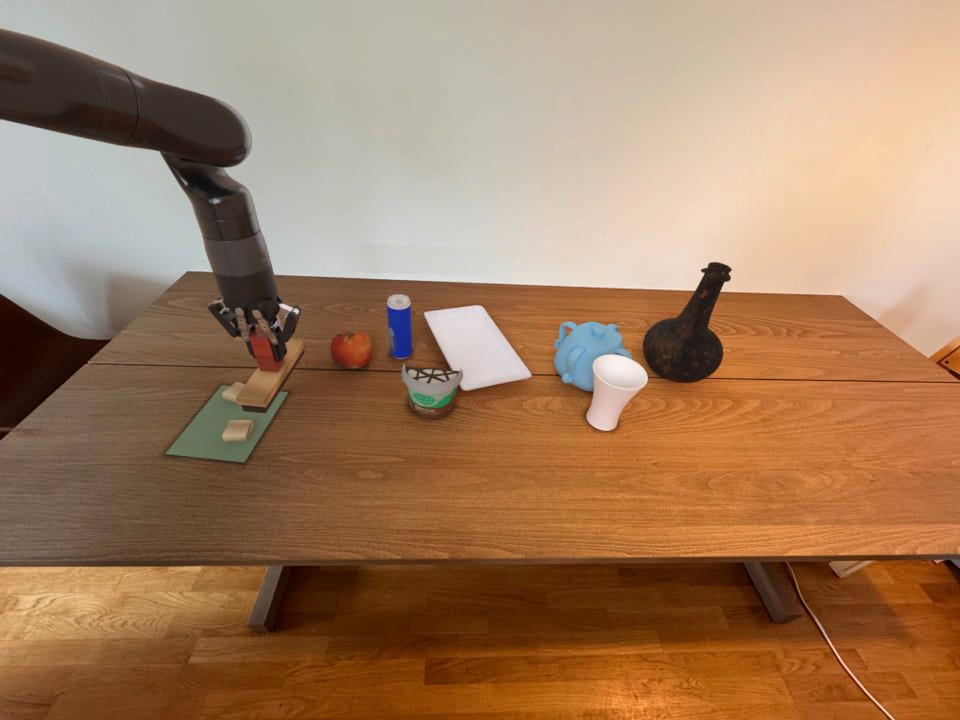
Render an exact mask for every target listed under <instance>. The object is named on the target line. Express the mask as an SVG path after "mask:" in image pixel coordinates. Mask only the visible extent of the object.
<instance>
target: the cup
mask: <svg viewBox="0 0 960 720" xmlns="http://www.w3.org/2000/svg"><path fill="white" fill-rule="evenodd" d="M593 377H594V391H592V392H593V394H592V399H591V403H590V406H589V408H588V410H587V413H586V420H587V422H588V423H589V425H591V426H592V427H594V428H595V429H597V430H600V431H604V432H607V431H608V432H609V431H613V430H614V429H616V427H617V426H618V422H619V419H620V416H621V414H622V412H623V411H624V409H625V407H627V405H628V403H629V402H630V401H631V400H632V399H633V398H634V396H636V395H637V394H638V393H639V392H640V391H641V390H642V389H643V388H644V387H645V386H646V385H647V384H648V380H649V377H648V373H647V371H646V370H645V368H644V367H643V366H642V365H641V364H639V363H638V362H637V361H636V360H634V359H633V360H632V359H630V358H627V357H624V356H620V355H613V354H608V355H602V356H600V357H598V358H597V359H596V360H595V361H594V363H593Z"/></svg>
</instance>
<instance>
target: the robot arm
mask: <svg viewBox="0 0 960 720" xmlns="http://www.w3.org/2000/svg"><path fill="white" fill-rule="evenodd" d="M0 121H5V122H9V123H14V124H19V125H23V126H27V127H32V128H36V129H41V130H45V131H49V132H53V133H58V134H62V135H67V136H71V137H75V138H81V139H85V140H90V141H94V142H99V143H104V144H109V145H114V146H120V147H125V148H132V149H139V150H140V149H142V150H147V151H149V150H150V151H155V152H159V154H160V156H161V157H162V159H163V161H164V162H165V164H166V165H167V168H168V169H169V170H170V172H171V174H172V175H173V177H174V178H175V181H176V182H177V183H178V186H179V187H180V188H181V190H182V191H183V193H184V194H185V195H186V197H187V199H188V200H189V202H190V204H191V207H192V210H193V213H194V216H195V219H196V222H197V224H198V228H199V230H200V233H201V237H202V240H203V241H202V242H203V246H204V251H205V255H206V257H207V260H208V263H209V266H210V269H211V272H212V274H213V278H214V280H215V282H216V283H215V284H216V285H217V288H218V292H219V294H220V296H221V297H217V298H216V299H215V300H213V301H212V302H211V303H210V305H208V306H207V310H208V311H209V312H210V313H211V314H212V316H213V317H214V318H215V319H216V320H217V322H218V323H219V324H220V325H221V326H222V327H223V328H224V330H225V331H226V332H227V333H228V335H230V337H231V338H232V337H233V338H237V337H239V338H241V340H242V341H244V342H245V345H246V348H247V350H248V353H249V355H250V356H252V357H253V359H254V360H256V357H255V354H254V351H253V348H252V345H251V342H250V339H249V336H250V335H251V334H252V333H253V332H254V331H255V329H256V328H257V325H259V327H261V328H262V330H263V332H264V333H266V334H267V336H268V338H269V340H270V342H271V347H272V350H273V354H274V357H275V360H276V361H281V360H282V359H283V358H284V357H285V355H286V354H287V348H286V344H285V342H288V341H289V340H290V339H292V337H293V335H294V334H295V332H296V329H297V326H298V323H299V319H300V317H301V314H302V307H300V306H299V305H294V306H293V307H292V306H290V305H287V304H286V303H284V302H283V299H282V298H281V297H280V296H279V294H278V284H277V280H276V276H275V273H274V268H273V265H272V260H271V257H270V252H269V248H268V246H267V241H266V239H265V237H264V234H263V231H262V229H261V224H260V221H259V217H258V213H257V210H256V209H257V208H256V205H255V203H254V199H253V196H252V194H251V192H250V190H249V189H248V187H247V186H245V185H244V184H243V183H242V182H239V181H237V180H236V179H235V178H233V177H232V176H230V175H229V174H228V172H227V171H226V169H228V168H229V169H230V168H235V167H236V166H239V165H241V164H242V163H243V162H245V161H246V160H247V159H248V157H249V156H250V154H251V152H252V148H253V135H252V131H251V129H250V126H249V125H248V122H247V121H246V120H245V118H244V116H242V114H241V113H240V112H239V111H238V110H236V108H234V107H233V106H232V105H230V104H229V103H227V102H225V101H223V100H221V99H218V98H216V97H213V96H210V95H206V94H203V93H200V92H197V91H193V90H190V89H185V88H182V87H179V86H176V85H171V84H169V83H164V82H160V81H157V80H155V79H154V80H153V79H151V78H148V77H145V76H142V75H140V74H138V73H136V72H132V71H131V70H129V69H126V68H124V67H121V66H119V65H117V64H114V63H112V62H109V61H106V60H103V59H102V58H98V57H95V56H93V55H90V54H87V53H84V52H82V51H79V50H76V49H73V48H71V47H68V46H64V45H63V44H62V45H61V44H59V43H55V42H53V41H50V40H46V39H43V38H39V37H37V36H33V35H29V34H26V33H21V32H17V31H13V30H10V29H5V28H1V27H0ZM279 312H280V313H281V314H282V315H281V316H282V320H281V318H280V316H279ZM281 321H284V324H283V327H282V325H281Z"/></svg>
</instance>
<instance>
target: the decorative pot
mask: <svg viewBox="0 0 960 720" xmlns="http://www.w3.org/2000/svg"><path fill="white" fill-rule="evenodd" d="M566 328H569V329H570V330H572V331H570V332H569V333H568V335H567V336H566ZM558 337H559V338H558V339H556V340H555V341H554V344H553V345H554V348H555V349H556V353H555V354H554V358H553V366H554V368H555V370H556V373H557V374H558V375H559V376H560V377H561V381H562V382H563V383H564V384H571V385H572V386H574V387H575V388H579V389H580V390H582V391H586V392H594V377H593V363H594V361H595V360H596V359H597V358H598V357H600V356H602V355H608V354H613V355H620V356H624V357H627V358H630V359H632V360H634V358H633V355H632V354H631V353H630V352H629V351H628V350H626V349H625V344H624V339H623V336H622V334H621V333H620V328H619V326H618V325H617V324H615V323H609V324H608V325H605V324H604V323H601V322H597V321H587V322H583V323H581V324H576V322H574V321H565V322H562V324H561V325H560V326H559V329H558Z"/></svg>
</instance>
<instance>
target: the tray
mask: <svg viewBox="0 0 960 720" xmlns="http://www.w3.org/2000/svg"><path fill="white" fill-rule="evenodd" d="M423 317H424V319H425V321H426V322H427V324H428V327H429V329H430V331H431V332H432V334H433V337H434V339H435V341H436V342H437V345H438V347H439V349H440V350H441V352H442V355H443V356H444V358H445V360H446V362H447V364H448V366H449V368H450V370H451V371H460V369H461V370H462V371H463V379H462V381H461V382H460V384H459V385H458V386H459V387H460V388H461V390H462V391H465V392H468V391H473V390H479V389H483V388H487V387H488V388H489V387H492V386H495V385H496V386H497V385H502V384H506V383H507V384H508V383H512V382H513V383H514V382H518V381H524V380H528V379H531V378H532V376H533V375H532V373H531V371H530V369H529V368H528V367H527V365H526V364H525V363H524V361H523V360H522V359H521V358H520V356H519V355H518V353H517V352H516V351H515V349H514V348H513V346H512V345H511V344H510V343H509V341H508V339H507V338H506V337H505V335H504V334H503V332H502V331H501V330H500V329H499V327H498V326H497V325H496V323H495V322H494V320H493V319H492V318H491V316H490V315H489V313H488V312H487V311H486V309H485V307H483V306H482V305H468V306H461V307H452V308H445V309H436V310H429V311H424V312H423Z"/></svg>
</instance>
